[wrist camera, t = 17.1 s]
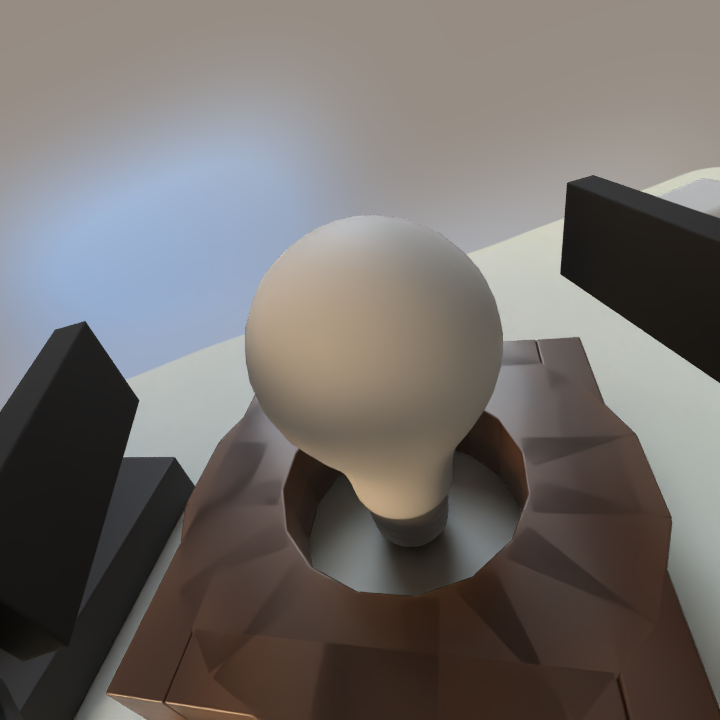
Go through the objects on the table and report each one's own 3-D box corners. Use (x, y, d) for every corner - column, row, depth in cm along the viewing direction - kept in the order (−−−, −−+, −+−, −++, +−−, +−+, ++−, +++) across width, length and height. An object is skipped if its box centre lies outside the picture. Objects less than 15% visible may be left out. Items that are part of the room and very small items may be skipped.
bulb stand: (136, 751, 12) (71, 718, 10) (285, 396, 23) (266, 350, 21) (750, 868, 9) (813, 849, 7) (584, 384, 19) (591, 327, 18)
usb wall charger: (620, 269, 26) (631, 200, 23) (709, 230, 27) (728, 162, 25) (686, 295, 23) (707, 219, 20) (782, 250, 24) (812, 174, 22)
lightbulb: (306, 601, 14) (137, 313, 8) (353, 452, 19) (270, 193, 12) (506, 635, 12) (500, 294, 6) (504, 462, 17) (501, 160, 10)
